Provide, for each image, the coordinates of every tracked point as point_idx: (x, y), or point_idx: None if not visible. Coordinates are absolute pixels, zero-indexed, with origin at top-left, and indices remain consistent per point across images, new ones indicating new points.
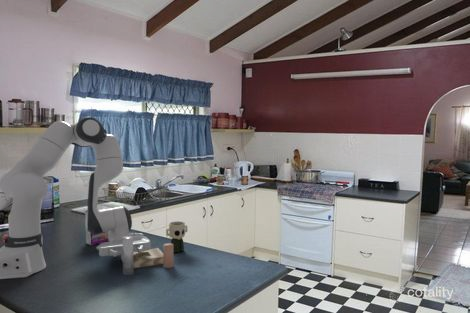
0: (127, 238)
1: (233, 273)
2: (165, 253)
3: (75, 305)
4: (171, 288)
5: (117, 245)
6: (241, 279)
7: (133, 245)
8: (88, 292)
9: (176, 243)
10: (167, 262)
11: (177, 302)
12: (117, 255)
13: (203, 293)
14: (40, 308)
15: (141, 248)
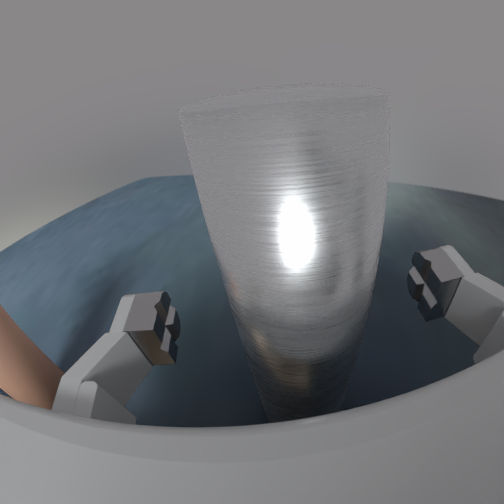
0: (288, 87)
1: (11, 273)
2: (24, 337)
3: (431, 193)
4: (167, 228)
5: (498, 378)
6: (30, 247)
7: (178, 430)
8: (440, 236)
9: None
10: (55, 365)
11: (191, 185)
12: (409, 277)
13: (124, 207)
14: (492, 198)
15: (129, 297)
